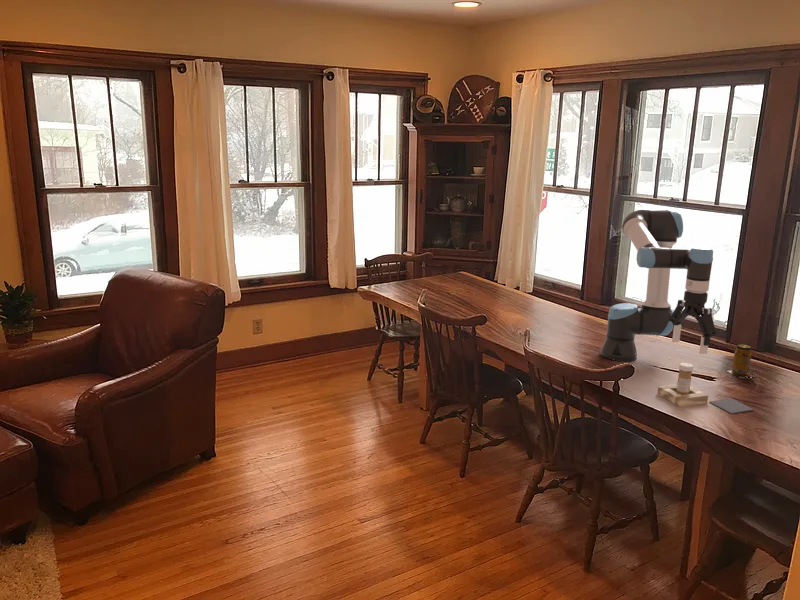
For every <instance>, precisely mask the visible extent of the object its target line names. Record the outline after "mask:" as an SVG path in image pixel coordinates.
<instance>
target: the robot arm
mask: <svg viewBox="0 0 800 600" xmlns="http://www.w3.org/2000/svg"><path fill="white" fill-rule="evenodd" d="M621 231H622V233H623V235H624V237H626V238H627V239H629V240H630V241H631V243H632V244H633V247H635V249H636V251H637V252H636V262H637V263H636V264H637V266H638V267H639V268H646V269H648V273H647V285H646V295H645V296H646V297H645V300H644V301H643V302H642V303H641V307H638V305H637V304H635V303H629V302H624V303H623V302H622V303H617V304H614V305H612V306H610V308H609V309H608V310H609V311H608V315H607V327H606V337H605V340H604V342H603V343H602V344H603V345H602V347H601V349H600V356H601V355H602V357H603V356H604V357H606V358H605V359H607V358H610V359H614V360H619V361H618V362H621V361H626V363H627V362H634V361H636V360H637V358H638V357H637V356H638V353H637V347H636V343H635V336H636V335H638V336H639V335H640V336H641V335H643V336H656V337H658V336H668V335H669V334H670V333H671V332H672V339H671V342H672V343H679V342H680V339H681V332H682V322H683V321H684V320H685V319H686V318H688V317H689V316H691V317H692V318H694V319H695V320H696V321H697V323H698V325H699V328H700V330H701V332H702V335H701V338H700V346H699V352H698V353H699V354H700V355H707V354H708V349H709V346H710V343H711V337H716V336H717V333H716V327H715V324H714V319H713V309H712V308H711V307H708V308H707V307H705V305H706V303H708V302H707V301H708V296H709V295H708V294H709V293H708V292H709V288H710V280H711V274H712V266H713V261H714V249H712V248H710V247H707V246H691V247H690V246H684V247H683V246H682V247H679V248H677V247H675V248H674V247H673V246H674V245H675V244H677V242H678V239H679V238H681V237H682V236H683V232H684V221H683V217H682V215H681V213H680V211H679V210H676V209H656V208H655V209H653V208H652V209H651V208H649V209H647V208H641V209H636V210H633V211H632V212H630V213H629V214H628V215H627V216H625V218H624V220H623V222H622V225H621ZM671 269H675V270H686V280H685V285H684V287H685V288H684V289H685V290H684V294H683V299H678V301H677V304H676V306H675V308H674V309H672V304H670V303H669V302H668V298H669V297H668V296H669V287H670V286H669V285H670V274H671ZM604 357H603V358H604ZM610 359H609V360H610ZM614 360H613V361H614Z"/></svg>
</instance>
